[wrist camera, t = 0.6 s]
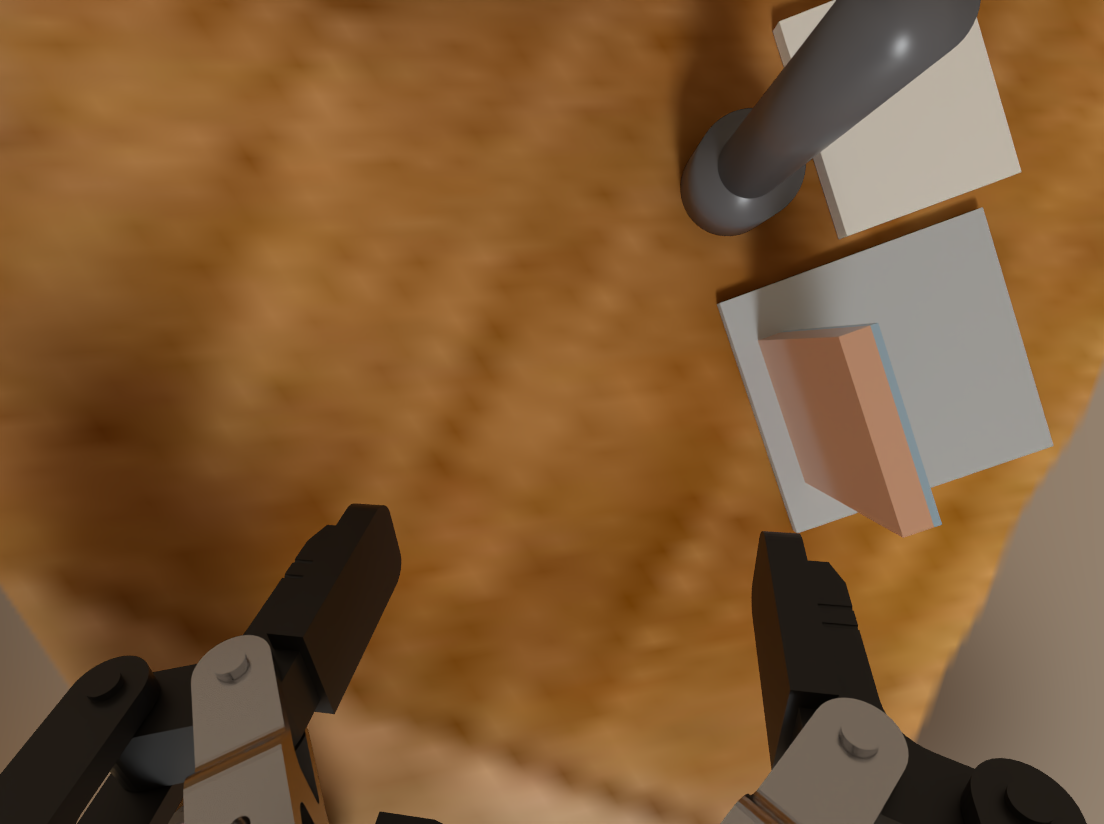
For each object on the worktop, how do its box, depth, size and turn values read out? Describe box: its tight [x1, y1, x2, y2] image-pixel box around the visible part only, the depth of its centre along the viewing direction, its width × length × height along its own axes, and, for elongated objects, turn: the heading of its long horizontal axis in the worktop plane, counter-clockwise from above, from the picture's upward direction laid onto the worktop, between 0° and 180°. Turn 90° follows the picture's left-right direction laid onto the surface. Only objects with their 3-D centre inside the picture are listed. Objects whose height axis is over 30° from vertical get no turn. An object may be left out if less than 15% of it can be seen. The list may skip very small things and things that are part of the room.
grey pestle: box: [681, 0, 981, 236], centre depth 24 cm, size 5×5×18 cm
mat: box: [717, 207, 1053, 533], centre depth 34 cm, size 13×14×1 cm
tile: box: [758, 323, 942, 537], centre depth 29 cm, size 8×2×10 cm, turn 20°
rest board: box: [773, 0, 1021, 239], centre depth 32 cm, size 11×9×1 cm
